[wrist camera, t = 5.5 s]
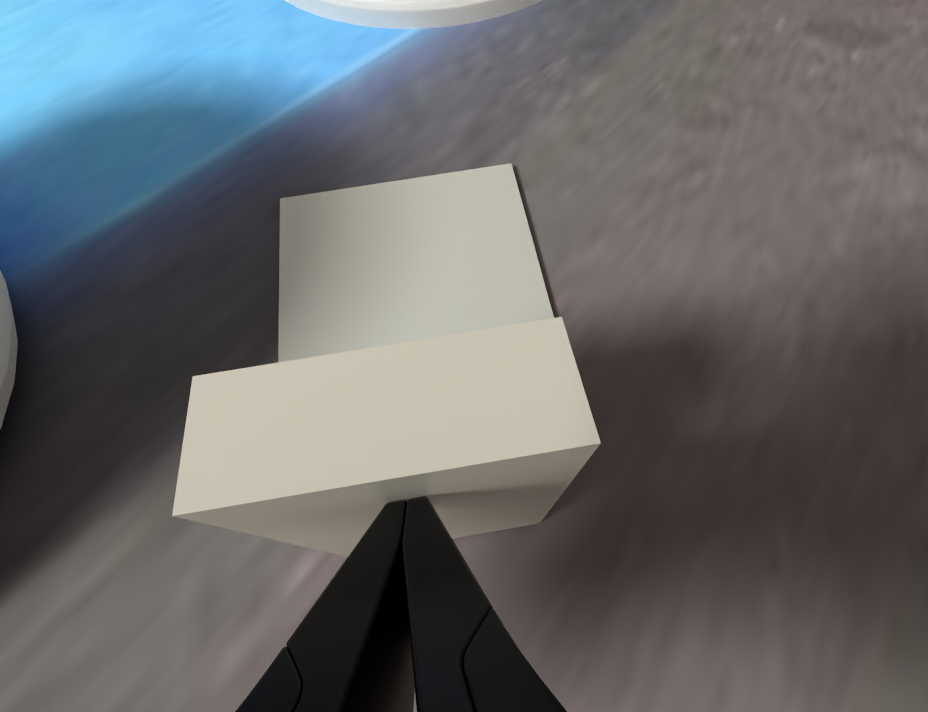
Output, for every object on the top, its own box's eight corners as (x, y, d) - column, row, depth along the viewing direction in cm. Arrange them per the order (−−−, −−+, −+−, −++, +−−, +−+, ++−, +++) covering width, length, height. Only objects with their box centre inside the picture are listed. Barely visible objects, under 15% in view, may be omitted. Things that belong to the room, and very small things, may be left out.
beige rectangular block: (539, 523, 16) (600, 443, 7) (348, 556, 16) (172, 516, 7) (523, 452, 17) (559, 309, 9) (346, 482, 17) (193, 368, 8)
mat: (581, 426, 18) (583, 424, 17) (280, 477, 17) (277, 475, 17) (511, 168, 23) (511, 163, 23) (282, 202, 23) (279, 198, 23)
